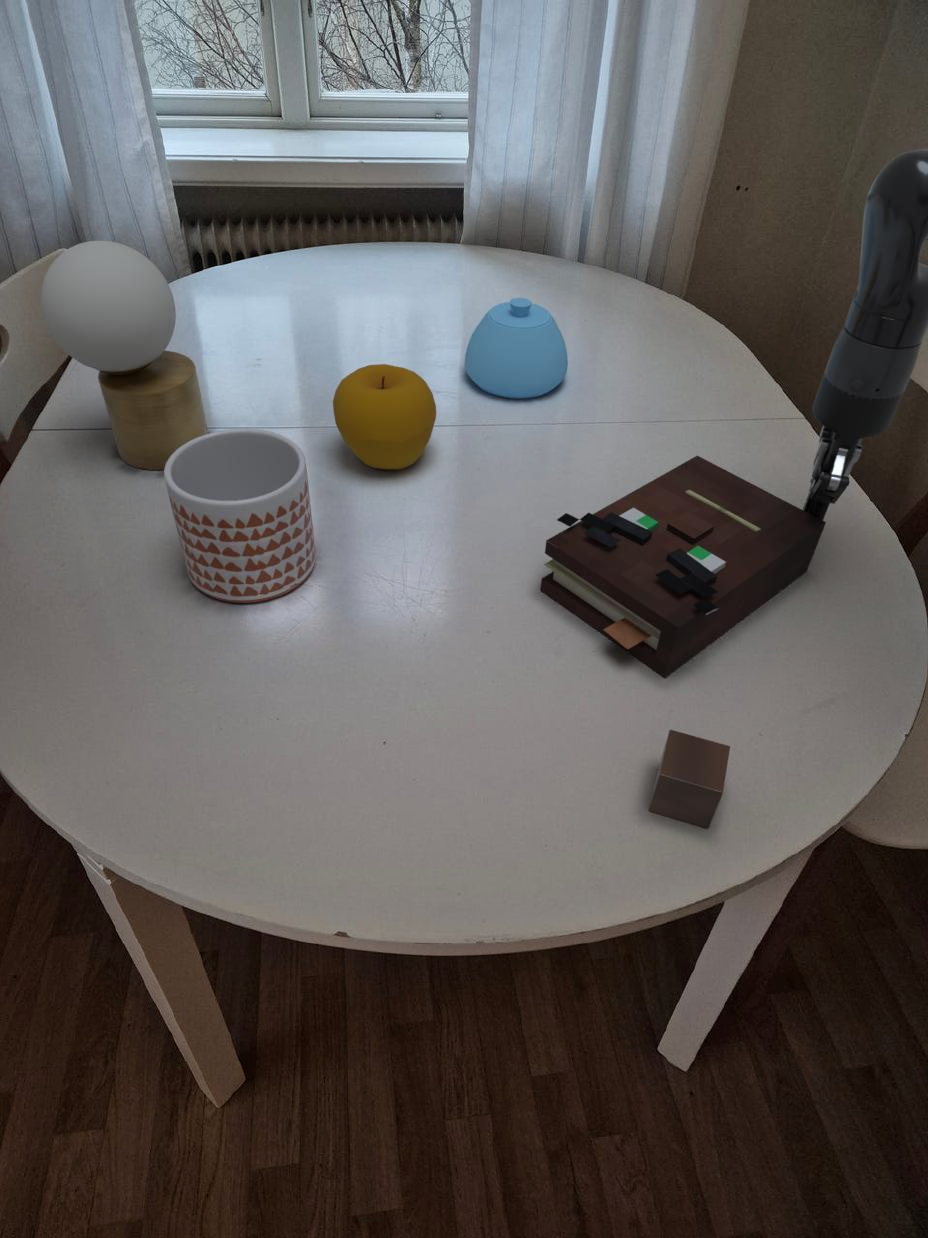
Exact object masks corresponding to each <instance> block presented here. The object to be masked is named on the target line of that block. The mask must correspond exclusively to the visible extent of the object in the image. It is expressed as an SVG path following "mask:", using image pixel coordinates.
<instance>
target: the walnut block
mask: <svg viewBox="0 0 928 1238" xmlns="http://www.w3.org/2000/svg"><path fill="white" fill-rule="evenodd" d="M730 749H731V746H730V745H728V744H724V743H721V742H717V741H713V740H709V739H706V738H703V737H699V736H695V735H691V734H688V733H684V732H681V731H677V730H673V729H669V731H668V734H667V738H666V740H665V744H664V747H663V751H662V754H661V757H660V760H659V763H658V767H657V772H656V776H655V781H654V784H653V789H652V793H651V798H650V802H649V806H648V812H651V813H654V814H658V815H662V816H664V817H668V818H671V819H675V820H677V821H681V822H685V823H688V824H692V825H695V826H698V827H701V828H704V829H707V830H708V829H710V827H711V824H712V821H713V819H714V817H715V814H716V812H717V809H718V806H719V804H720V802H721V798H722V796H723V794H724V788H725V783H726V776H727V769H728V763H729V757H730V751H731V750H730Z"/></svg>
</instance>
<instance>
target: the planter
mask: <svg viewBox="0 0 928 1238" xmlns="http://www.w3.org/2000/svg"><path fill="white" fill-rule="evenodd" d="M163 476H164V482H165V486H166V490H167V494H168V499H169V503H170V507H171V510H172V515H173V519H174V523H175V527H176V531H177V536H178V540H179V545H180V548H181V552H182V557H183V561H184V565H185V569H186V571H187V572H186V573H187V576H188V578H189V580H190V582H191V583H192V584H193V585H194V587H195V588H197V589H198V590H199V592H202V593H203V594H205V595H206V596H208V597H210V598H213V599H216V600H219V601H223V602H229V603H237V604H250V603H259V602H264V601H269V600H272V599H275V598H278V597H281V596H283V595H285V594H287V593H290V592H291V591H293V590H295V589H296V588H297V587H299V586H300V585H301V584H302V583H304V582H305V581H306V579H307V578H308V577H309V576H310V574H311V573H312V571H313V569H314V567H315V564H316V559H317V558H316V557H317V556H316V543H315V534H314V524H313V515H312V505H311V497H310V488H309V487H310V486H309V479H308V478H309V477H308V469H307V461H306V457H305V454H304V452H303V450H302V449H301V447H299V445H298V444H297V443H296V442H294V441H292V440H291V439H290V438H288V437H286V436H284V435H282V434H280V433H276V432H273V431H269V430H265V429H259V428H257V429H256V428H231V429H230V428H229V429H224V430H217V431H213V432H210V433H209V432H208V434H206V435H203V436H200V437H198V438H195V439H193V440H191V441H189V442H187V443H185V444H184V445H182V446H181V447H180V448H178V449H177V450H176V451H175V452H174V453H173V454H172V455H171V456H170V458H169V459H168V461H167V463H166V465H165V469H164V470H163Z"/></svg>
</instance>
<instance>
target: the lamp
mask: <svg viewBox="0 0 928 1238" xmlns="http://www.w3.org/2000/svg"><path fill="white" fill-rule="evenodd" d="M40 300H41V301H40V304H41V305H40V306H41V311H42V315H43V319H44V322H45V324H46V327H47V329H48V331H49V333H50V335H51V337H52V338H53V339H54V341H55V342H56V343H57V345H58V346H59V348H61V349H62V350H63V351H64V352H65V353H66V354H67V355H68V356H69V357H71V358H72V359H73V360H75V361H76V362H78V363H80V364H82V365H83V366H85V367H88V368H91V369H95V370H96V371H98V375H97V380H98V384H99V387H100V388H99V389H100V391H101V394H102V398H103V403H104V406H105V409H106V411H107V416H108V419H109V423H110V426H111V431H112V434H113V437H114V440H115V444H116V449H117V452H118V456H119V457H120V458H121V460H122V461H123V462H124V463H126V464H127V465H129V466H131V467H134V468H137V469H141V470H146V471H164V469H165V465H166V463H167V461H168V459H169V458H170V456H171V455H172V454H173V453H174V452H175V451H176V450H177V449H178V448H180V447H181V446H182V445H184V444H185V443H187V442H189V441H191V440H193V439H195V438H198V437H200V436H203V435H206V434H209V430H208V425H207V420H206V419H207V418H206V415H205V409H204V404H203V399H202V395H201V388H200V383H199V377H198V374H197V373H198V372H197V369H196V365H195V363H194V361H193V360H192V359H191V358H190V357H189V356H187V355H185V354H182V353H180V352H176V351H171V350H166V349H167V348H168V345H169V344H170V343H171V341H172V338H173V336H174V335H173V334H174V331H175V327H176V318H177V314H176V313H177V312H176V303H175V299H174V295H173V292H172V290H171V287H170V285H169V283H168V281H167V279H166V278H165V276H164V275H163V274H162V271H160V268H158V267H157V266H156V265H155V263H153V262H152V261H151V260H150V259H149V258H148V257H146V256H145V255H144V254H142V253H141V252H139V251H138V250H136V249H134V248H132V247H130V246H128V245H126V244H122V243H119V242H115V241H110V240H89V241H85V242H80V243H77V244H76V245H75V244H74V245H73V246H71V247H69V248H67V249H66V250H65V251H63V252H62V253H60V254H59V255H58V256H57V257H56V258H55V259H54V261H53V262H52V263H51V264H50V266H49V267H48V269H47V271H46V273H45V276H44V278H43V282H42V286H41V291H40Z"/></svg>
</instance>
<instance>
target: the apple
mask: <svg viewBox="0 0 928 1238" xmlns="http://www.w3.org/2000/svg"><path fill="white" fill-rule="evenodd" d="M332 399H333V400H332V409H333V416H334V422H335V425H336V427H337V429H338V431H339V434H340V436H341V437H342V440H343V441H344V443H345V444H346V445H347V446H348V448H349V449H350V450H351V451H352V453H353V454H354V455H355V456H356V457H357V458H358V459H360V461H362V463H364V464H365V465H366V466H369V467H371V468H373V469H380V470H403V469H405V468H407V467H409V466H412V465H413V464H414V463H416V461H418V459H419V458H420V457H421V456H422V455H423V453H424V451H425V450H426V447H427V445H428V443H429V441H430V440H431V437H432V434H433V430H434V426H435V423H436V420H437V419H436V418H437V404H436V401H435V398H434V394H433V392H432V390H431V388H430V386H429V385H428V383H427V382H426V380H425V379H424V378H423V377H421V376H420V375H419V374H418V373H416V371H413V370H410V369H408V368H405V367H401V366H396V365H392V364H386V363H382V364H381V363H380V364H368V365H365V366H362V367H359V368H357V369H355V370H354V371H353V372H351V373H349V374H348V375H347V376H345V377H344V378H343V379H341V380H340V382H339V384H338V385H337V387H336V389H335V391H334V395H333V398H332Z"/></svg>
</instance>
